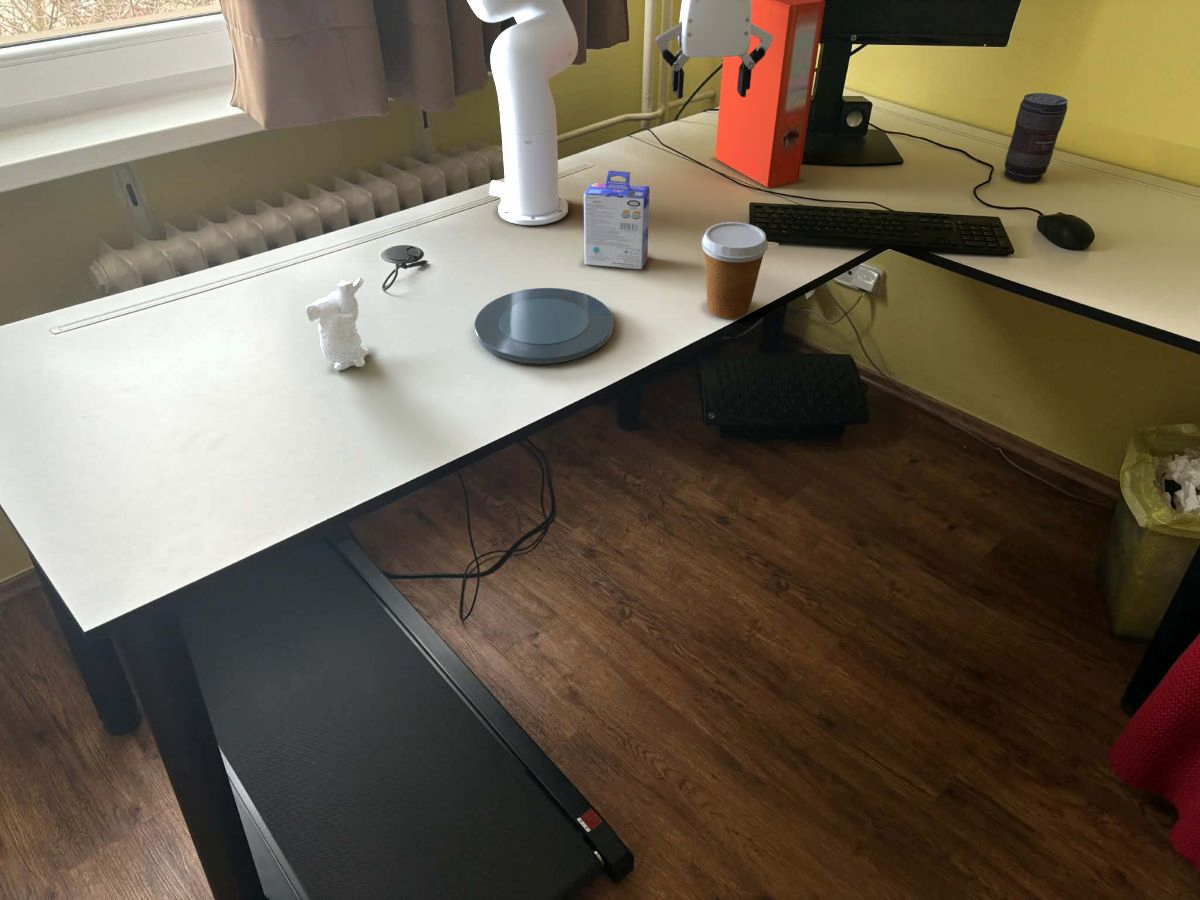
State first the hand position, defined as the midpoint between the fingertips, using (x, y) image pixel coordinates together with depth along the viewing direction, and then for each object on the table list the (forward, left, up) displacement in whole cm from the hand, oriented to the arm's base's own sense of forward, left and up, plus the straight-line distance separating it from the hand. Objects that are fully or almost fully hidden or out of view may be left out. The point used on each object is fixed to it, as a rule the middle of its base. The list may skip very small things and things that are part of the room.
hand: (710, 95), depth 136 cm
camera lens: (+46, +56, -25) cm, 77 cm away
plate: (-10, -35, -25) cm, 44 cm away
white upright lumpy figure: (-30, -55, -25) cm, 67 cm away
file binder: (-2, +37, -25) cm, 45 cm away
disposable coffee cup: (+12, -18, -25) cm, 33 cm away
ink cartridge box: (-10, -11, -25) cm, 29 cm away
